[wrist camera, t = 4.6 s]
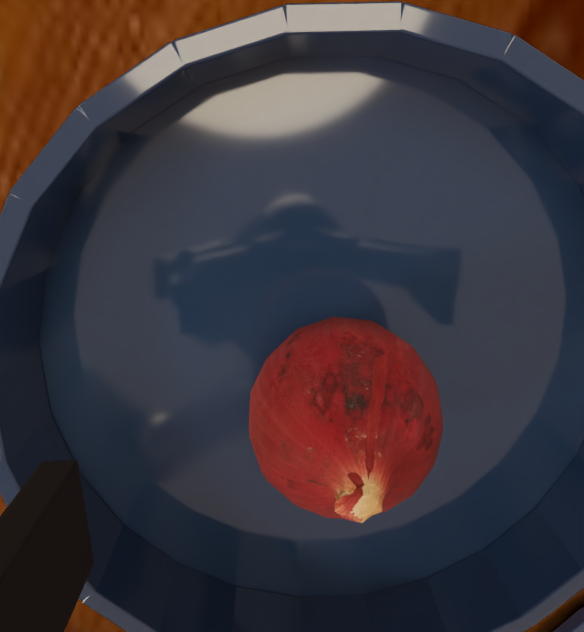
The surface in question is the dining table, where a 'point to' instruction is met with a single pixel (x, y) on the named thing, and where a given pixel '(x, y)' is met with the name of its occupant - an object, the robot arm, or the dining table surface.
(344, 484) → the onion
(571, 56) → the dining table surface
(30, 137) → the dining table surface
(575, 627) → the lid
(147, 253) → the blue round pan
